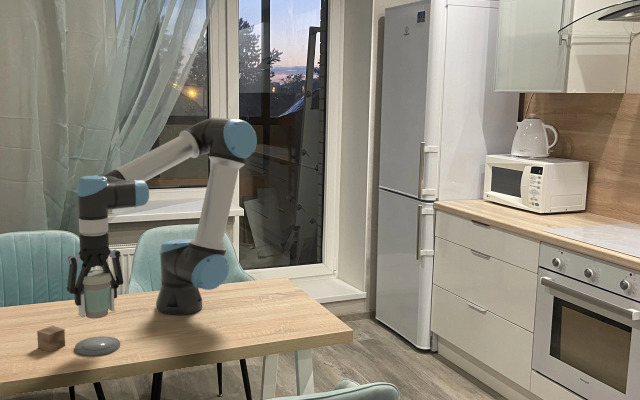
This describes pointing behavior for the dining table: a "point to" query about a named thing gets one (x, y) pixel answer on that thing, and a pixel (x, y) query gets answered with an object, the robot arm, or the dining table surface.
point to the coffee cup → (96, 293)
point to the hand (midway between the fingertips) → (96, 312)
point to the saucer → (97, 346)
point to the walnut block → (51, 338)
